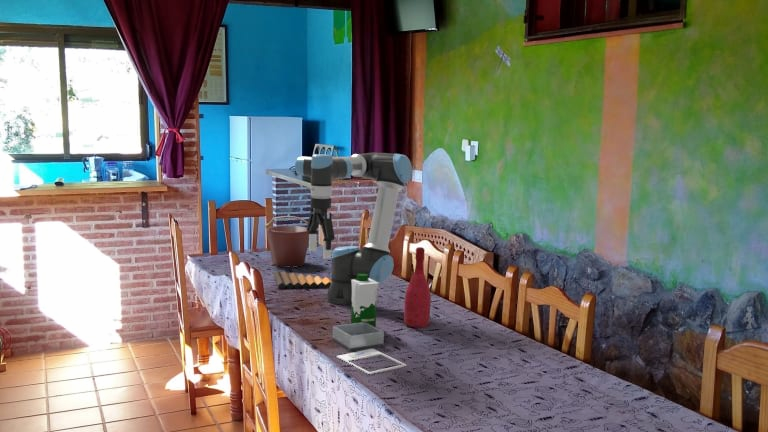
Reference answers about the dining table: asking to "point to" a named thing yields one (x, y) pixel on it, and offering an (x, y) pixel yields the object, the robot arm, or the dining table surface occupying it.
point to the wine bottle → (417, 296)
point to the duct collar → (358, 336)
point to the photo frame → (365, 355)
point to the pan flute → (299, 281)
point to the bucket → (288, 243)
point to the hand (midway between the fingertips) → (319, 254)
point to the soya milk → (364, 300)
